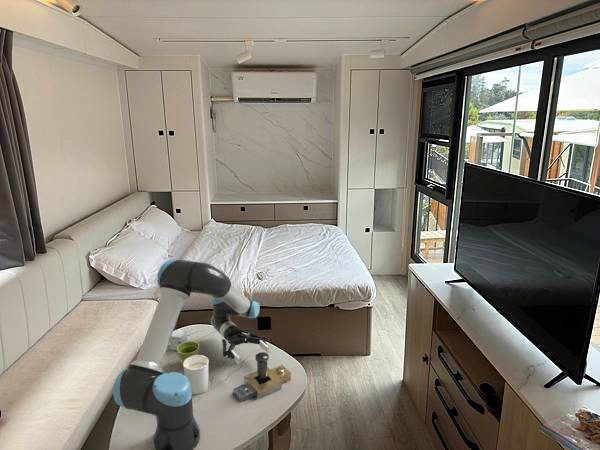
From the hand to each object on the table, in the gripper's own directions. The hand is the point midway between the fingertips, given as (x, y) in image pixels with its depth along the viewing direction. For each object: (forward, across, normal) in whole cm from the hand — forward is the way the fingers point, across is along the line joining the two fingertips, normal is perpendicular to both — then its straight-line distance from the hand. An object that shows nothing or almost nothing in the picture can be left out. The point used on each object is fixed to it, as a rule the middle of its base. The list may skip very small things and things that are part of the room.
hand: (253, 355), depth 172 cm
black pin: (+8, 0, -10) cm, 13 cm away
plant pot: (-23, +20, -10) cm, 32 cm away
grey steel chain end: (+8, +3, -10) cm, 13 cm away
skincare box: (-39, +18, -10) cm, 45 cm away
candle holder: (-6, +22, -10) cm, 26 cm away
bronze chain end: (+7, -3, -10) cm, 13 cm away
